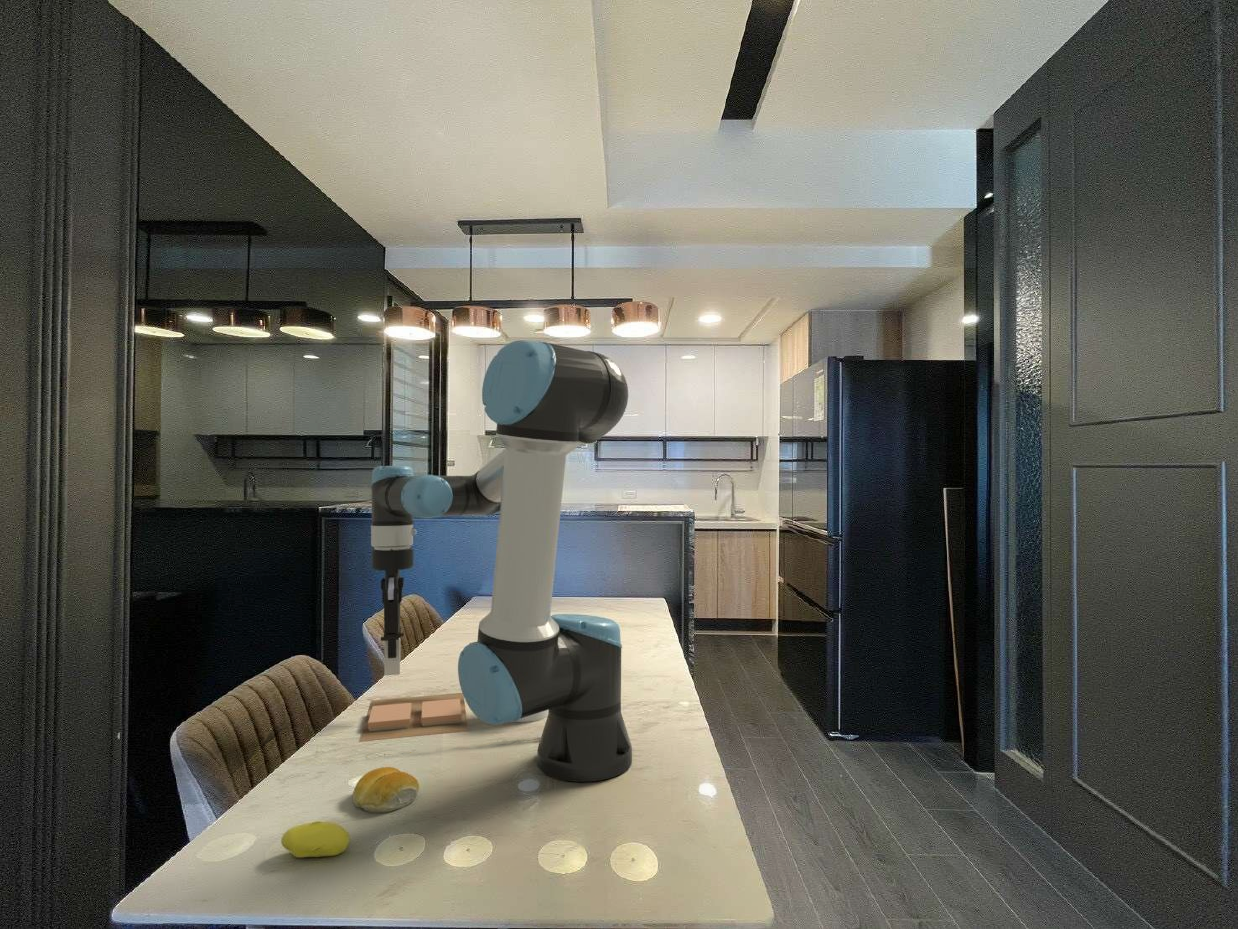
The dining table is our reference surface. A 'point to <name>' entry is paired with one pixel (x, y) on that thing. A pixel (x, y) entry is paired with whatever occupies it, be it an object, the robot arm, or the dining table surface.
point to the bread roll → (385, 790)
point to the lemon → (316, 839)
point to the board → (415, 719)
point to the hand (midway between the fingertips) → (392, 673)
